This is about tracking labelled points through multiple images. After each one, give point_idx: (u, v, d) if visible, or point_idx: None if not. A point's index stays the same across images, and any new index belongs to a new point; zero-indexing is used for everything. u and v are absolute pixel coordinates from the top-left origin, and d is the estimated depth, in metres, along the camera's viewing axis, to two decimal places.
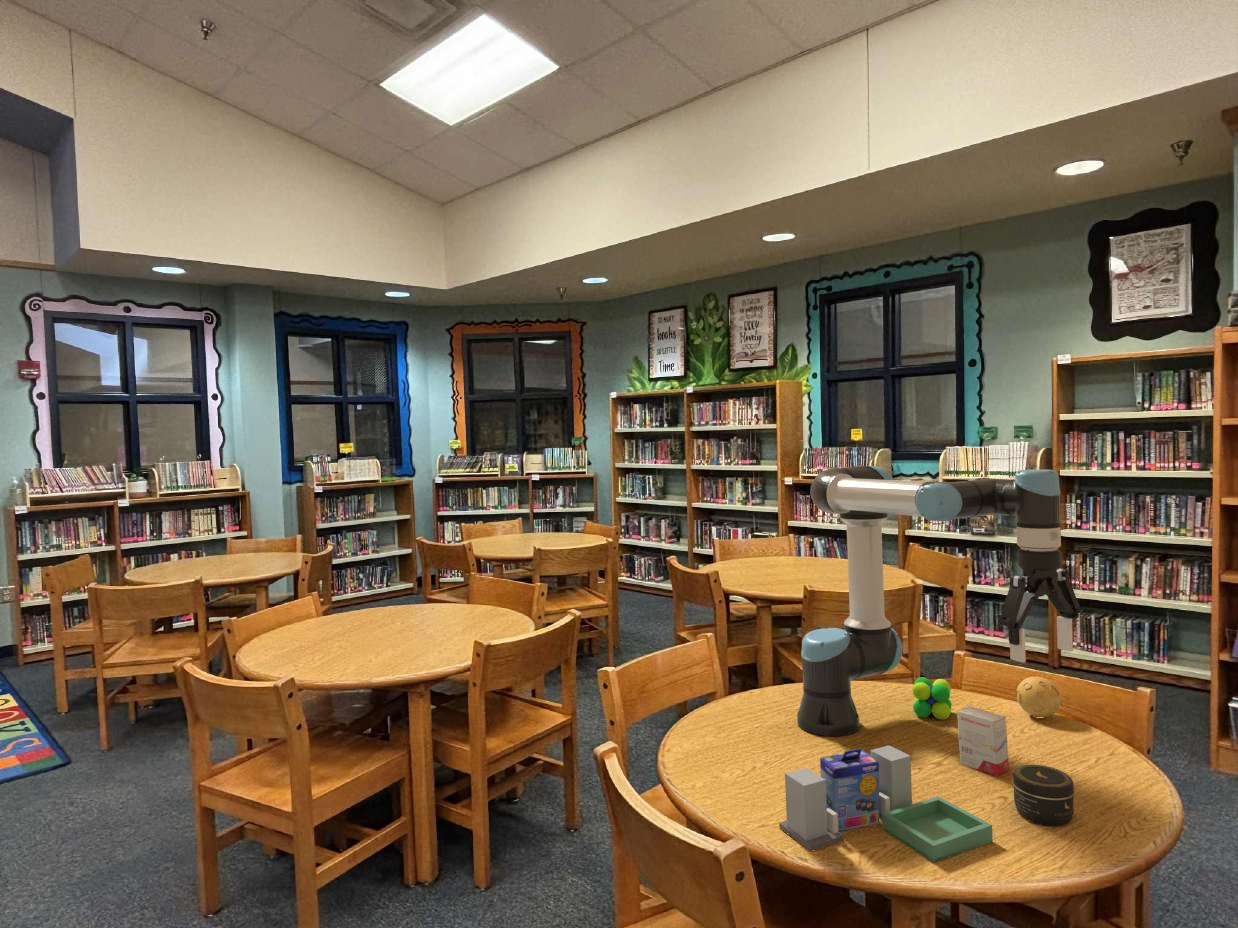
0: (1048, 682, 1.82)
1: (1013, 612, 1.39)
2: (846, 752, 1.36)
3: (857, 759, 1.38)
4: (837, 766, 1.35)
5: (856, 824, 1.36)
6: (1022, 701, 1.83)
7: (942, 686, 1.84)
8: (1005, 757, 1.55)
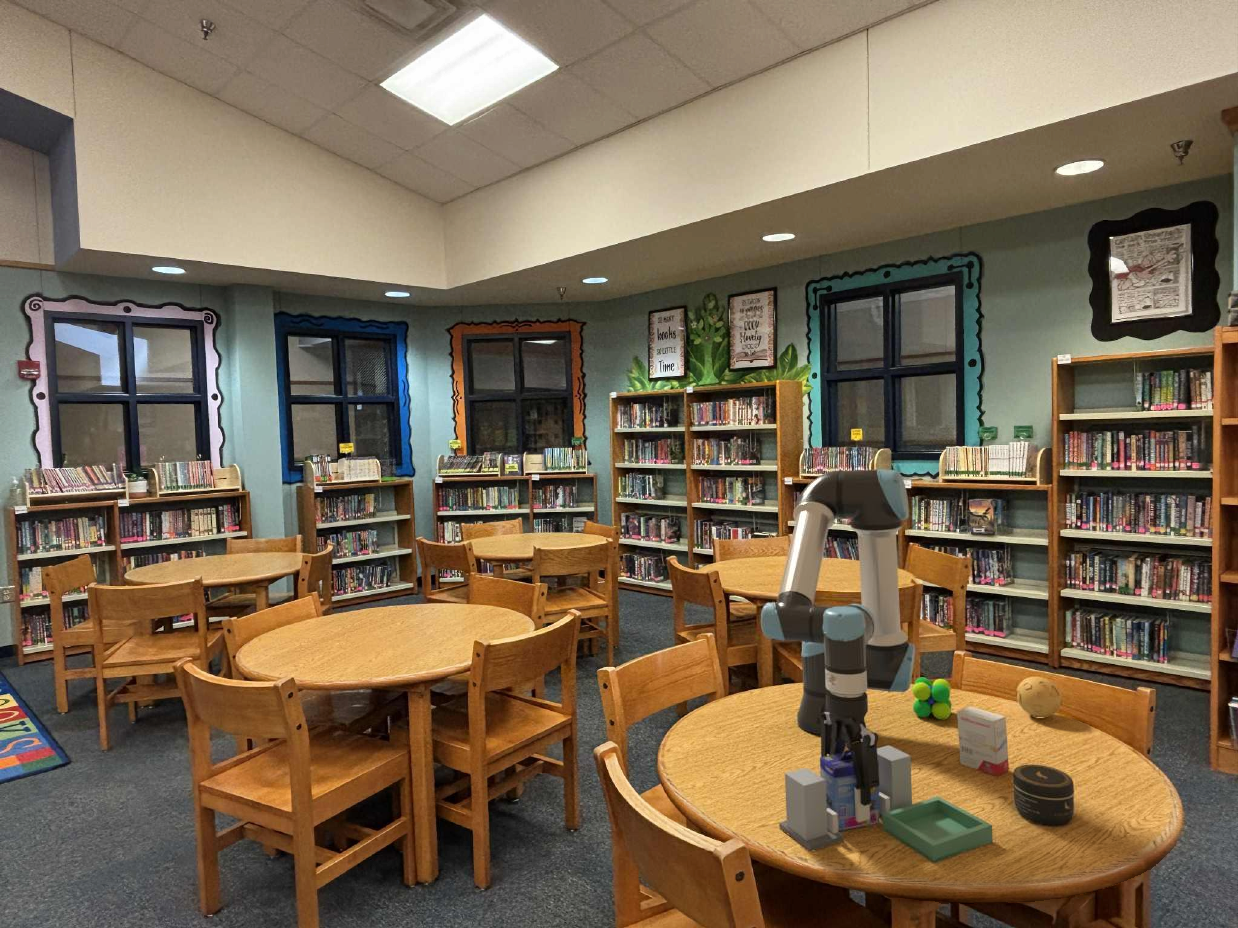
0: (1048, 682, 1.82)
1: None
2: (846, 751, 1.36)
3: None
4: (837, 765, 1.35)
5: (856, 824, 1.36)
6: (1022, 701, 1.83)
7: (942, 686, 1.84)
8: (1005, 757, 1.55)
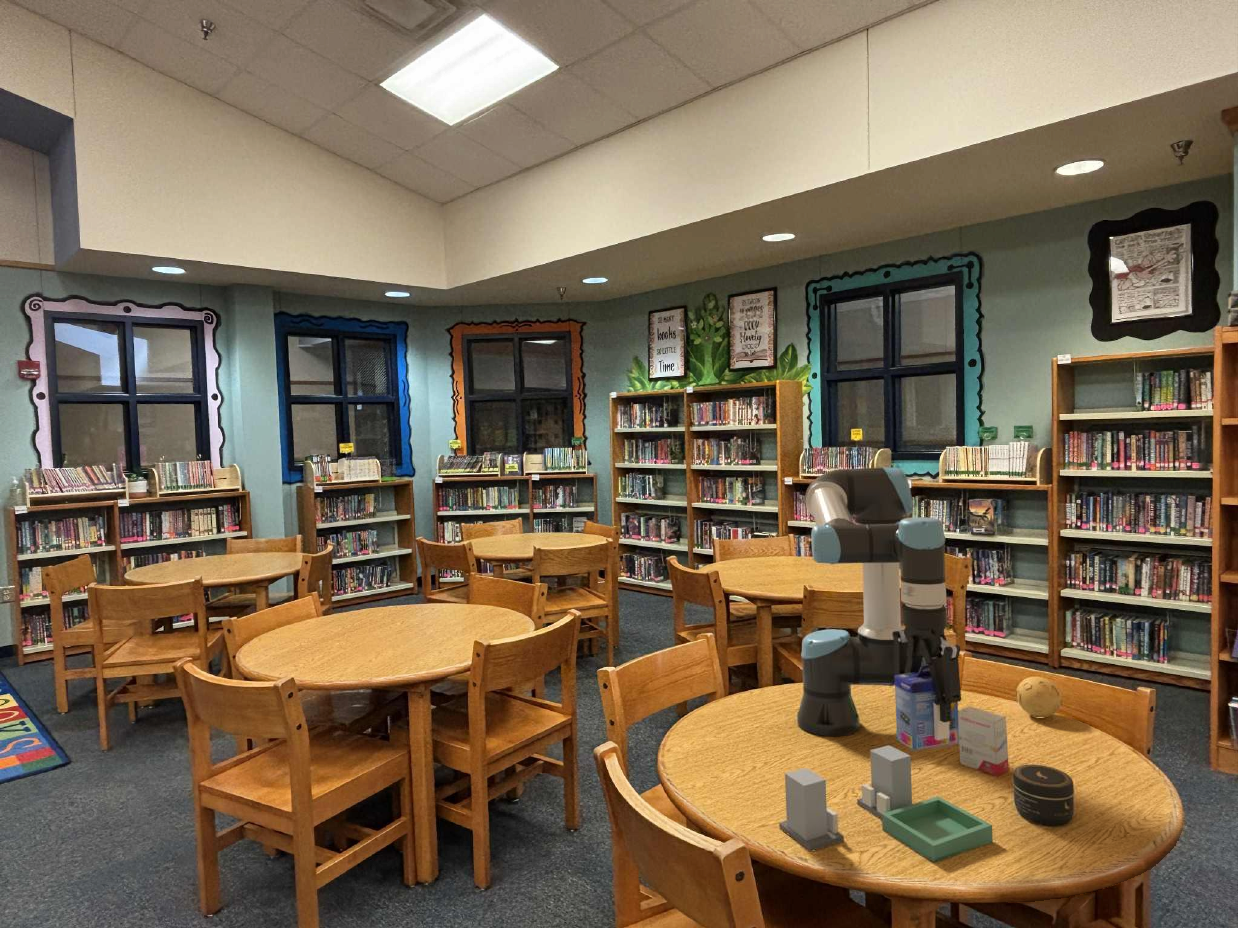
0: (1048, 682, 1.82)
1: None
2: (923, 667, 1.30)
3: None
4: (915, 680, 1.29)
5: (935, 743, 1.29)
6: (1022, 701, 1.83)
7: None
8: (1005, 757, 1.55)
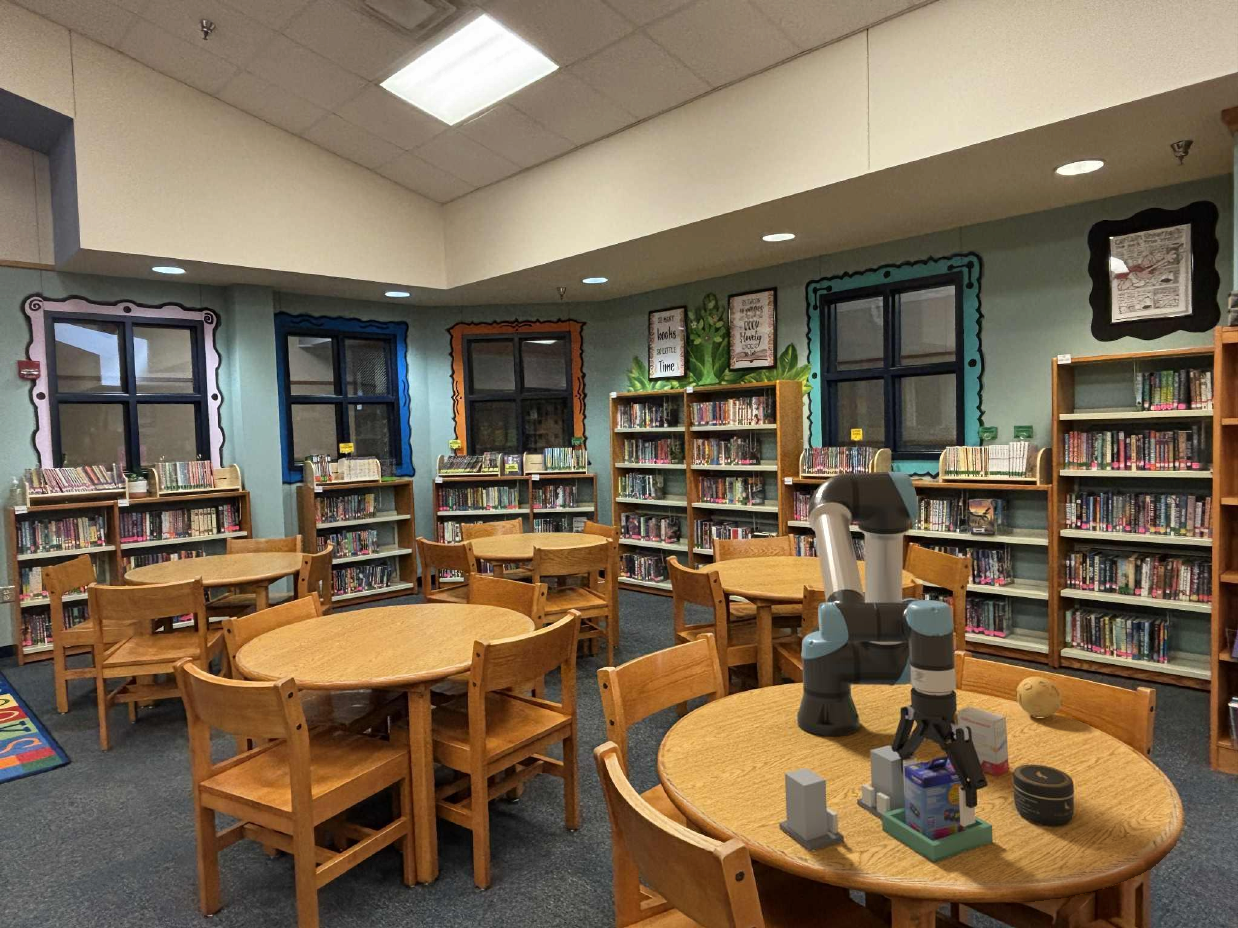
0: (1048, 682, 1.82)
1: (894, 738, 1.39)
2: (934, 760, 1.30)
3: (943, 767, 1.31)
4: (926, 774, 1.29)
5: (944, 835, 1.30)
6: (1022, 701, 1.83)
7: None
8: (1005, 757, 1.55)
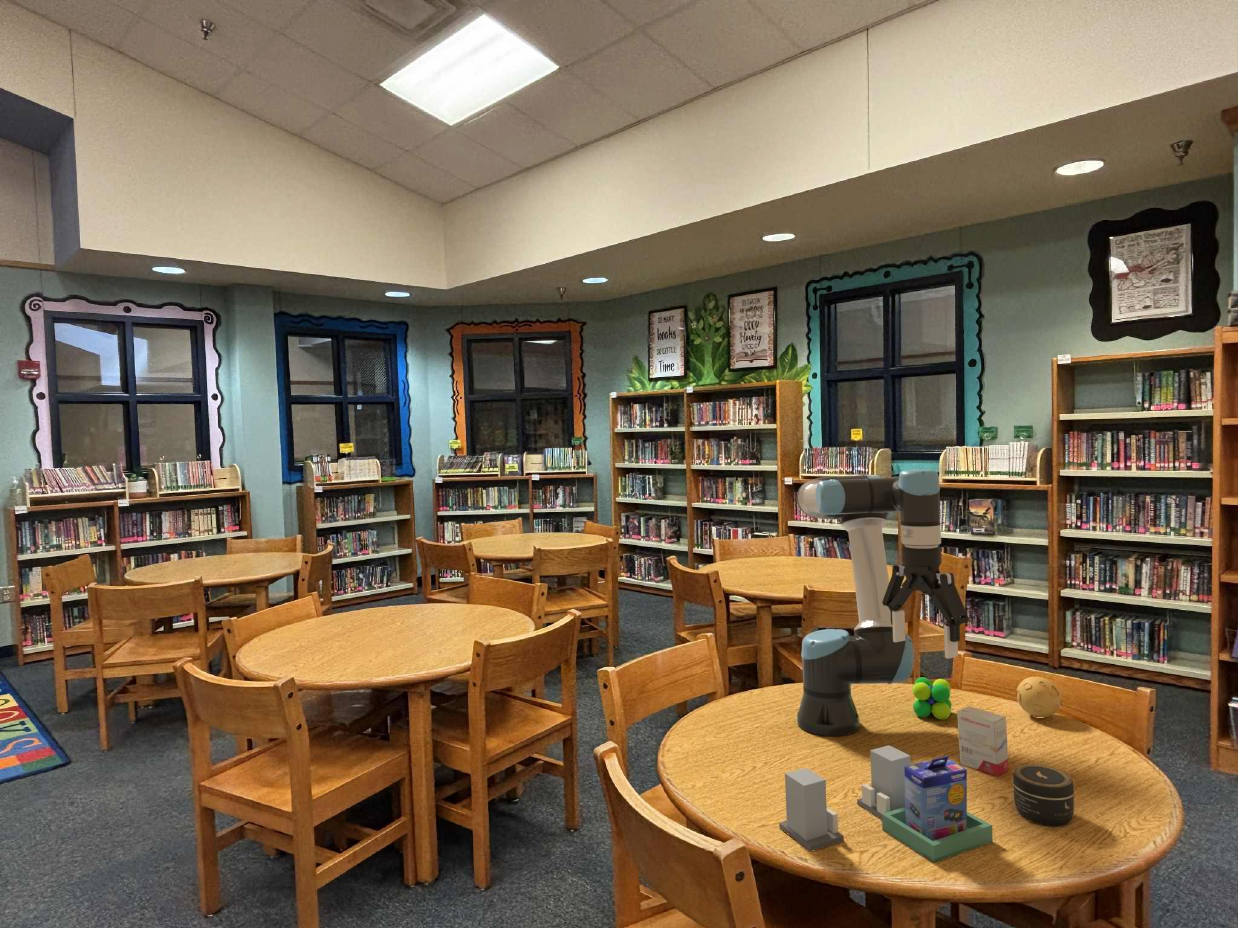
0: (1048, 682, 1.82)
1: (885, 593, 1.57)
2: (934, 760, 1.30)
3: (943, 767, 1.31)
4: (926, 774, 1.29)
5: (944, 835, 1.30)
6: (1022, 701, 1.83)
7: (942, 686, 1.84)
8: (1005, 757, 1.55)
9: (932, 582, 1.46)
